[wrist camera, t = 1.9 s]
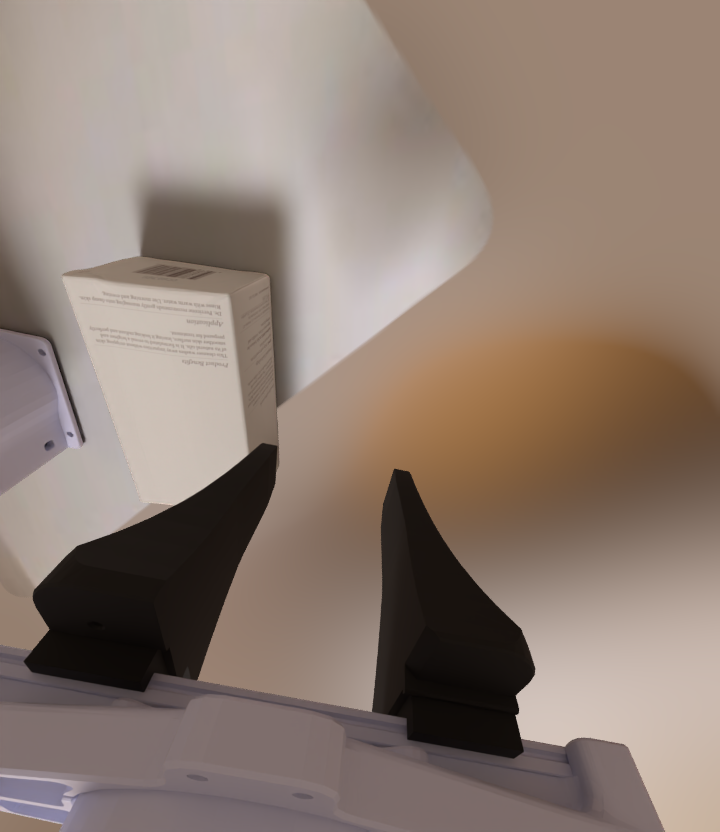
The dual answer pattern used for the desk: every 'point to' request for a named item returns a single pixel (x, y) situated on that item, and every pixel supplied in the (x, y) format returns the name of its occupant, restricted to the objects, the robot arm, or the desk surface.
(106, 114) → the desk surface
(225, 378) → the skincare box
